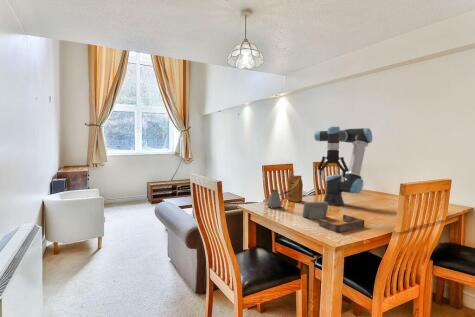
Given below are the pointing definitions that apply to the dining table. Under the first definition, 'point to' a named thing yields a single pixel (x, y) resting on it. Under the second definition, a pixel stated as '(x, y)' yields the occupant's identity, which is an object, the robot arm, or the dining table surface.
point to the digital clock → (315, 210)
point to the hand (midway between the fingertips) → (332, 180)
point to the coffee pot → (275, 199)
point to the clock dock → (350, 225)
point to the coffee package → (295, 188)
